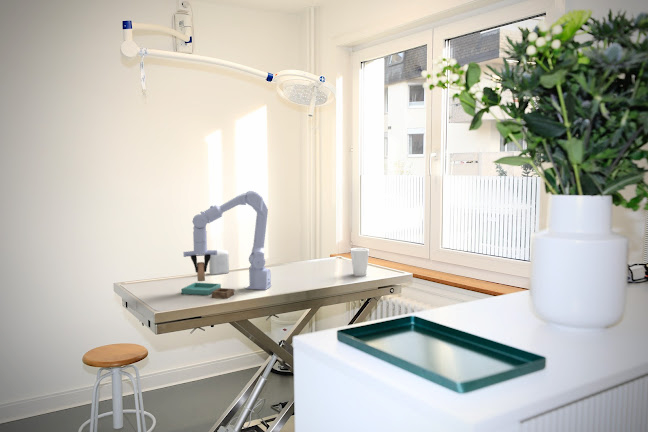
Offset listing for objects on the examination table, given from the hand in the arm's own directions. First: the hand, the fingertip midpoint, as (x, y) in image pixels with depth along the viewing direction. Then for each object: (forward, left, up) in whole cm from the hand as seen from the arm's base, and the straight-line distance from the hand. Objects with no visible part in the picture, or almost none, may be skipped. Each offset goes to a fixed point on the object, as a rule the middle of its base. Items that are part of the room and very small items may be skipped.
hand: (200, 271), depth 245 cm
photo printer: (+8, -37, -9) cm, 39 cm away
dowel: (0, 0, -4) cm, 4 cm away
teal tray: (0, 0, -9) cm, 9 cm away
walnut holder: (-13, +6, -9) cm, 17 cm away
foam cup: (-63, -50, -9) cm, 81 cm away
